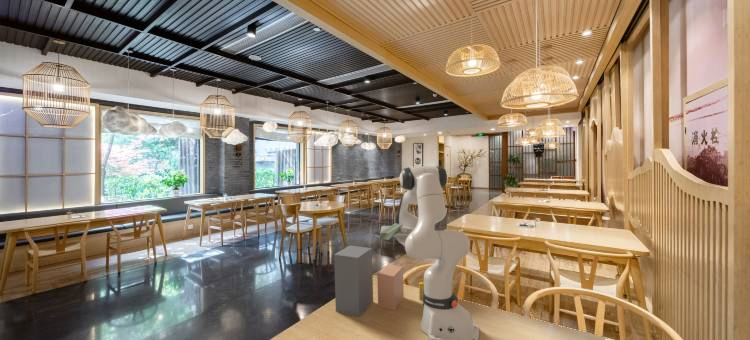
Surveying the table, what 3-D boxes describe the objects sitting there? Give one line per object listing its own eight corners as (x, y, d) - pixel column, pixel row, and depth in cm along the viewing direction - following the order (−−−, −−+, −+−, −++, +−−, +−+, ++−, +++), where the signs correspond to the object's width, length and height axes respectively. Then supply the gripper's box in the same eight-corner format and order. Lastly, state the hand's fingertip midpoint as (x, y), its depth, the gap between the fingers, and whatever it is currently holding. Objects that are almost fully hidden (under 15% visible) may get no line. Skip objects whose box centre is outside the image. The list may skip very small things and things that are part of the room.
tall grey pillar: (373, 301, 134) (371, 248, 133) (359, 317, 122) (357, 257, 120) (351, 297, 139) (350, 245, 138) (335, 311, 127) (334, 254, 126)
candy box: (419, 300, 134) (419, 283, 134) (419, 298, 137) (418, 281, 136) (453, 300, 134) (453, 283, 134) (452, 298, 136) (452, 281, 136)
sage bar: (402, 229, 143) (402, 224, 143) (388, 240, 125) (387, 233, 125) (395, 229, 144) (395, 223, 144) (379, 239, 127) (379, 232, 127)
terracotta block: (403, 297, 138) (402, 266, 137) (394, 310, 126) (393, 276, 126) (388, 294, 141) (387, 264, 140) (378, 306, 130) (377, 273, 129)
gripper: (387, 227, 156) (377, 220, 145) (423, 231, 148) (416, 223, 137) (385, 239, 154) (375, 232, 143) (421, 243, 145) (414, 235, 134)
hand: (395, 227), depth 140 cm, fingers closed on sage bar, 4 cm apart
